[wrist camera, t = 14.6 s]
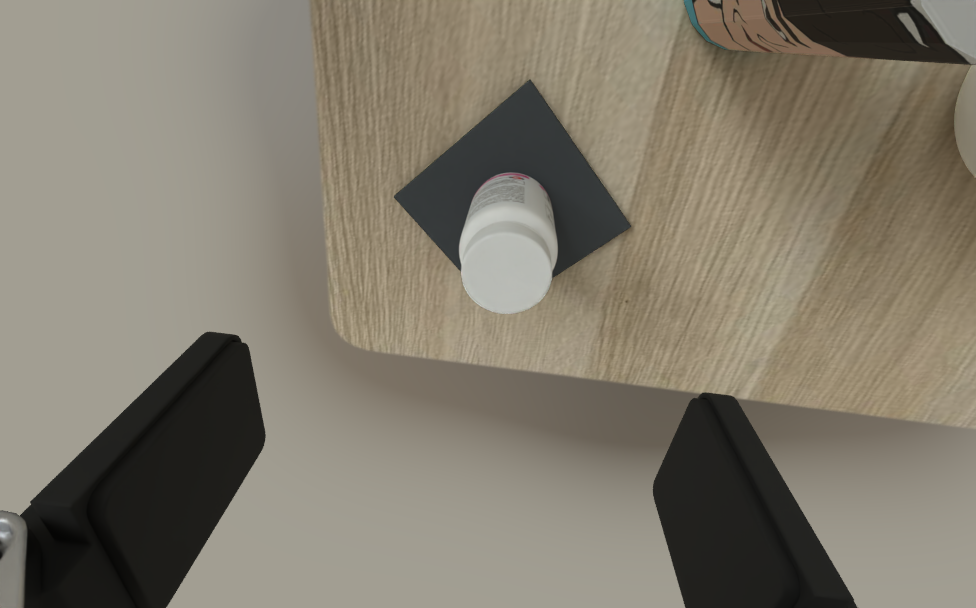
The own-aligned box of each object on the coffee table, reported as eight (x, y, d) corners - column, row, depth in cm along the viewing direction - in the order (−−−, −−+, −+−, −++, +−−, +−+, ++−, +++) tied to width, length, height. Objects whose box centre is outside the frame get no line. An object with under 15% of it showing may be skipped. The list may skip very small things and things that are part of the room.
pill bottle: (457, 225, 28) (432, 291, 21) (496, 154, 26) (483, 201, 18) (524, 262, 29) (524, 338, 22) (568, 197, 27) (583, 258, 19)
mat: (395, 195, 28) (393, 197, 27) (530, 79, 24) (529, 79, 24) (498, 310, 31) (498, 313, 31) (630, 224, 28) (631, 226, 27)
